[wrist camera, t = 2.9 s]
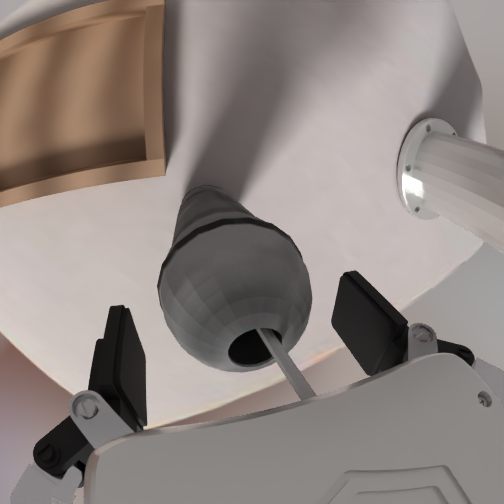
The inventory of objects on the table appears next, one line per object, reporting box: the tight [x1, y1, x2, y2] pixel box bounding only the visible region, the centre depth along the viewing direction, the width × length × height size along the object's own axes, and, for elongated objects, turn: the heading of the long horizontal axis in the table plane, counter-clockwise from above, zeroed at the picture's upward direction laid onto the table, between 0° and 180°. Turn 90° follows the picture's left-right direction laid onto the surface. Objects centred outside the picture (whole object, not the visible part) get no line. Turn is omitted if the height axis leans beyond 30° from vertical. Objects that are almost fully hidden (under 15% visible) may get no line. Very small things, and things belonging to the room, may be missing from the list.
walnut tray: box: [0, 0, 167, 207], centre depth 14 cm, size 18×14×3 cm
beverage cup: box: [157, 186, 317, 401], centre depth 15 cm, size 7×7×20 cm
